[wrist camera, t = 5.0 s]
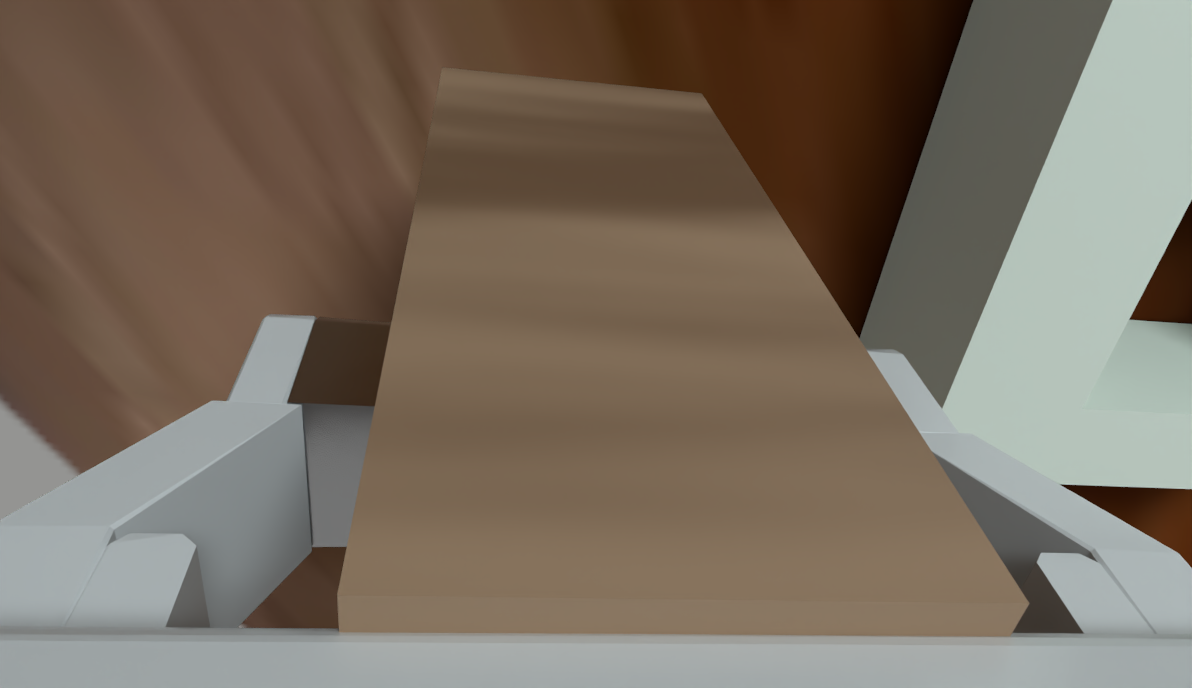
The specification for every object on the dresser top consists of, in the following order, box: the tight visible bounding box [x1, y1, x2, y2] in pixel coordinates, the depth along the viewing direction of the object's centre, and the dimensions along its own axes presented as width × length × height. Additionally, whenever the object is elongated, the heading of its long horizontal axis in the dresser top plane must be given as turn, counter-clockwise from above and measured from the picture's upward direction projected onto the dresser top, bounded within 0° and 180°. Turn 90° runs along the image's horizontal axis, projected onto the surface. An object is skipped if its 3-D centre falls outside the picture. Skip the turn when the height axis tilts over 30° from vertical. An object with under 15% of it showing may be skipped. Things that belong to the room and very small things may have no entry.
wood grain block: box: [337, 67, 1029, 636], centre depth 10 cm, size 4×4×10 cm
